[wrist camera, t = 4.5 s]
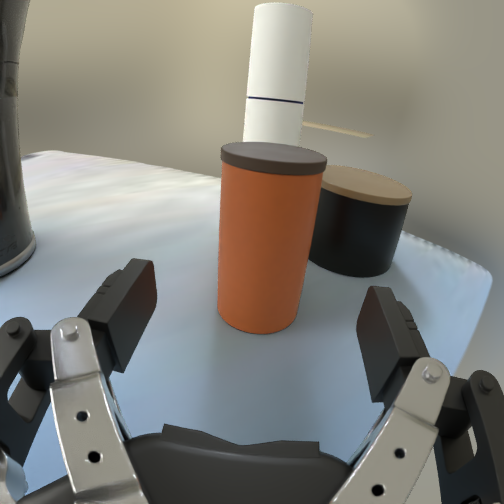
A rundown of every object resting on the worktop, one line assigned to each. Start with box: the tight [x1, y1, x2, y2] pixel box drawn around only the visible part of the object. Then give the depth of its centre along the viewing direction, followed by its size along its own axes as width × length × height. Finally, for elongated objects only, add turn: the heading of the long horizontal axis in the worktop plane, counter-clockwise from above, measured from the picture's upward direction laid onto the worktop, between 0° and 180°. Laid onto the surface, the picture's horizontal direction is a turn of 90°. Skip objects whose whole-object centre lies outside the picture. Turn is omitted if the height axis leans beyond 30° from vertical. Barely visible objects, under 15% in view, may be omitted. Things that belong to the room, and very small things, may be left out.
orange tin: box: [217, 142, 327, 334], centre depth 17 cm, size 5×5×10 cm
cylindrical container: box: [243, 3, 313, 147], centre depth 34 cm, size 7×7×25 cm
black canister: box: [308, 165, 412, 277], centre depth 26 cm, size 9×9×7 cm
